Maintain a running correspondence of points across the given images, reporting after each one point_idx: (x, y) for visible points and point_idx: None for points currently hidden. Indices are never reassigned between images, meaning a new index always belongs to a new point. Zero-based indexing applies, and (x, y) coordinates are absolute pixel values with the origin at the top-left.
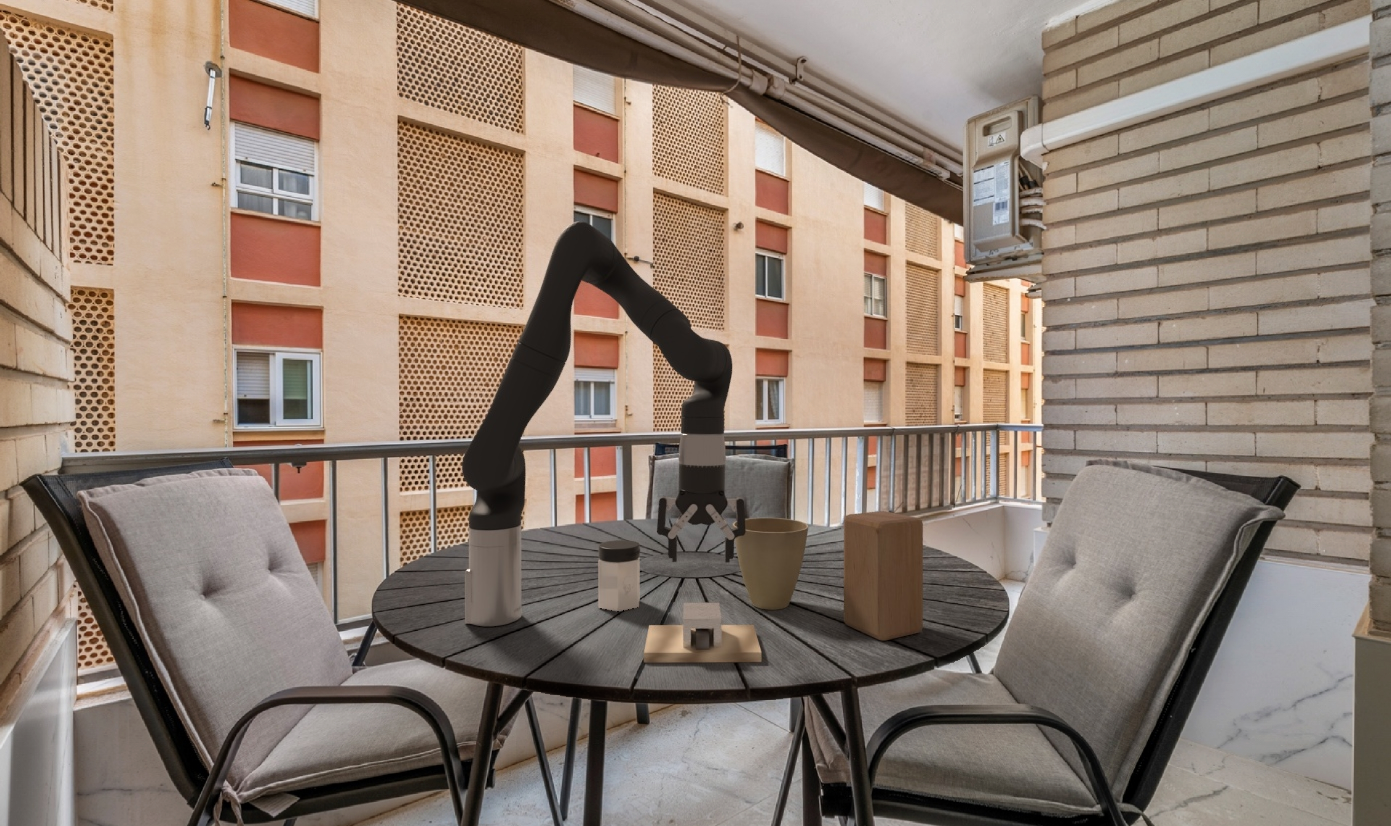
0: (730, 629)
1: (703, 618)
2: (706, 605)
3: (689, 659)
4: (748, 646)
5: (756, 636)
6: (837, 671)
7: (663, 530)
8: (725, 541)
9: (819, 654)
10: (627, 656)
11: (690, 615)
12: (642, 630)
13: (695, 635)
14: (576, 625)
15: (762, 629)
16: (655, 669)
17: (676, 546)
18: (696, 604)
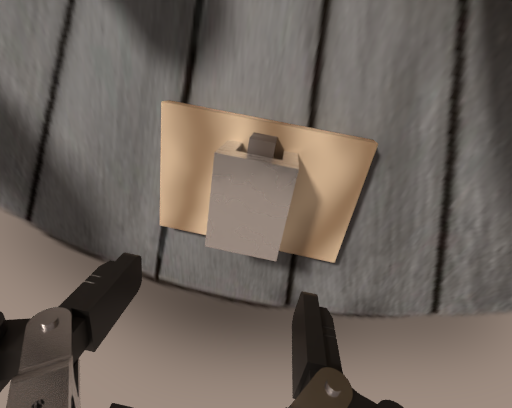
0: (320, 159)
1: (242, 252)
2: (264, 182)
3: None
4: (323, 239)
5: (355, 204)
6: (423, 300)
7: (6, 380)
8: (295, 383)
9: (437, 249)
10: (141, 192)
11: (220, 233)
12: (155, 75)
13: None
14: (15, 14)
15: (404, 118)
16: (182, 240)
17: (110, 327)
18: (242, 171)
